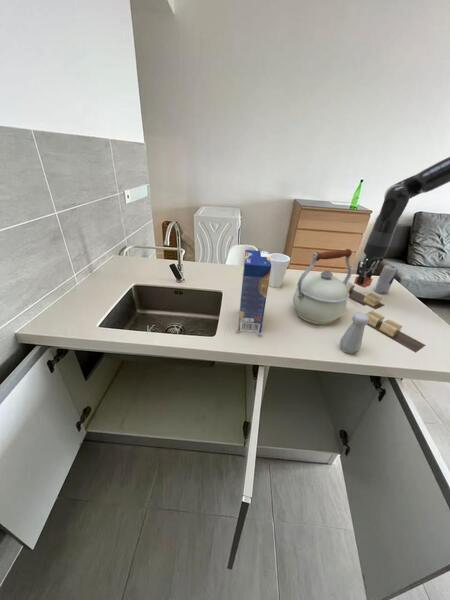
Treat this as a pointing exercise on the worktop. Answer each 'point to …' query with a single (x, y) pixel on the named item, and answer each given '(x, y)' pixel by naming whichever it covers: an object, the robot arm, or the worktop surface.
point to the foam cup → (278, 269)
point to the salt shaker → (354, 333)
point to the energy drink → (385, 279)
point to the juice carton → (254, 290)
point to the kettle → (322, 291)
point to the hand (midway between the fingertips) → (362, 282)
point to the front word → (393, 331)
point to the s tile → (366, 281)
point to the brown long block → (365, 298)
